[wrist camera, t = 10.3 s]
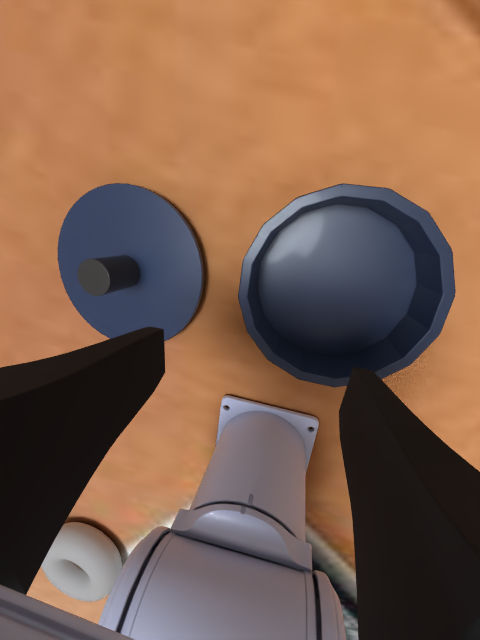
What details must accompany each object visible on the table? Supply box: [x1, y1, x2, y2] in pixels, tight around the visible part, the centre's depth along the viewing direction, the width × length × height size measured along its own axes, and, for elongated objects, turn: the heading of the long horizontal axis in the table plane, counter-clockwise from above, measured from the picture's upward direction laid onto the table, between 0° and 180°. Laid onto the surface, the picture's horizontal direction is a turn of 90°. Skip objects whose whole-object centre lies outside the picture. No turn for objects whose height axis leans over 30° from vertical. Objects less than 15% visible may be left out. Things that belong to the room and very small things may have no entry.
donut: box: [41, 522, 122, 602], centre depth 33 cm, size 10×4×10 cm
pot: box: [238, 184, 455, 387], centre depth 17 cm, size 11×11×4 cm
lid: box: [58, 183, 204, 341], centre depth 20 cm, size 12×12×5 cm
